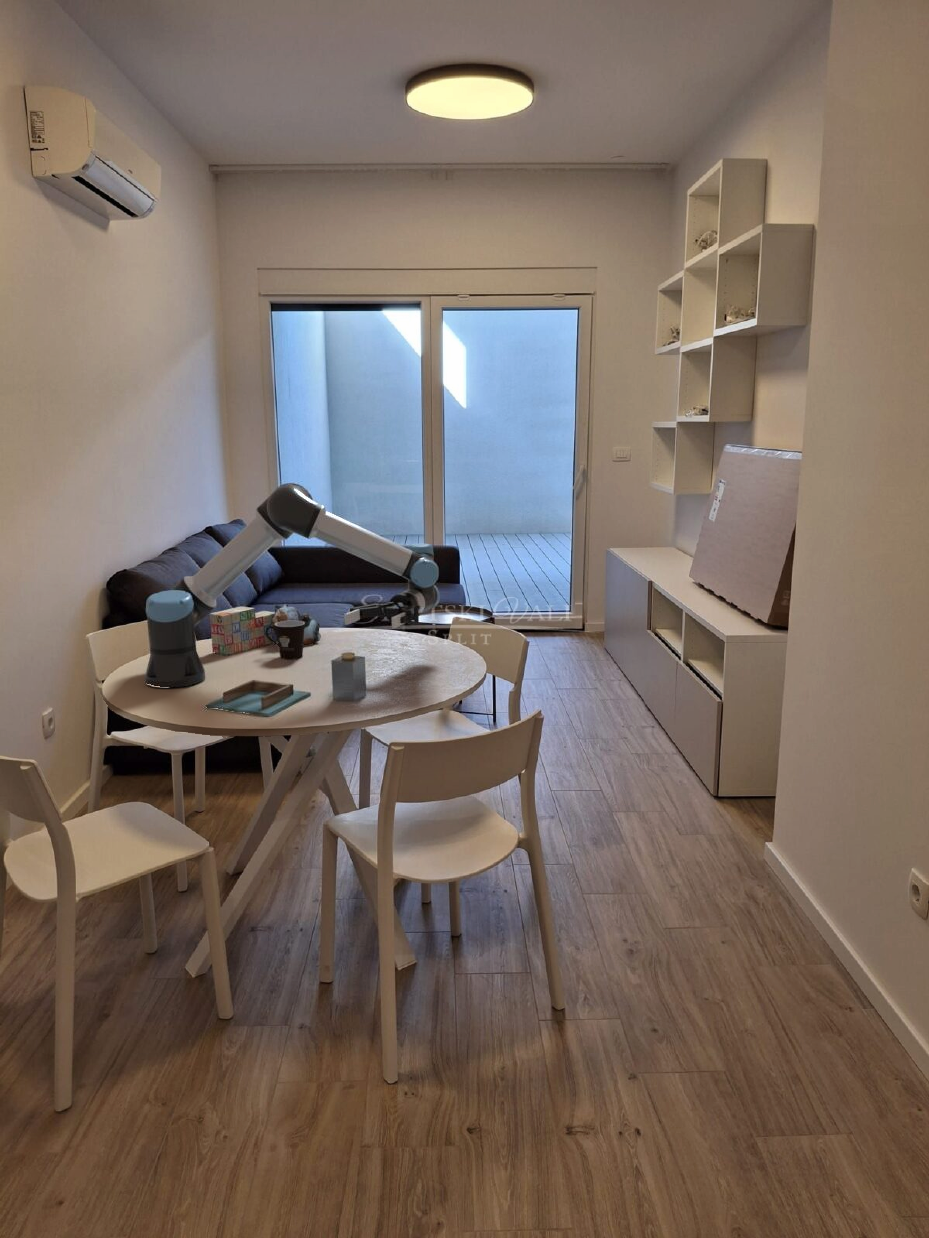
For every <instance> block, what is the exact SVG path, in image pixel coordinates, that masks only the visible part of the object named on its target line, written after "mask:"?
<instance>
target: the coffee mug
mask: <svg viewBox="0 0 929 1238" xmlns="http://www.w3.org/2000/svg"><path fill="white" fill-rule="evenodd" d="M304 626H305V622H303V621H295V620H291V621H281V622H277V623H275V627H273V626H271V627H268V628H267V629H266V636H267V637H268V638H269V639H270V641H272V642H273V643H272V644H274V645H275V646H277V647H278V652H279V657H280V659H281V660H287V661H288V660H289V661H292V660H297V659H298V660H299V659H301V658H303V656H304V653H303V652H304V644H303V641H304ZM270 628H272V629H274V630H275V631H276V635H277V642H275V641H274V640H272V639H271V638H270V637H269V635H268V630H269V629H270Z"/></svg>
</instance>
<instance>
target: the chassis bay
mask: <svg viewBox="0 0 929 1238" xmlns="http://www.w3.org/2000/svg"><path fill="white" fill-rule="evenodd" d="M311 693H312V692H311V691H302V690H295V689H294V684H291V683H290V684H289V683H282V682H277V681H276V682H273V681H267V680H266V681H265V680H258V679H252V680H249V681H248V682H245V683H243V684H240V685H238V686H236V687H234V688H231V689H229V690H226V691H224V692H223V693H222V695H223V696H222V697H221V698H217V699H216V700H214V701H211V702H209V703H207V704H205V708H206V707H207V708H206V709H209V708H218V709H223V710H228V711H227V712H230V711H234V712H233V713H237V712H242V713H241V714H244V713H243V712H245V713H249V714H248V715H252V714H254V715H253V716H259V715H262V716H261V717H266V716H267V717H266V718H269V717H271V716H273V715H275V714H277V713H279V712H281V711H283V710H285V709H287V708H289V707H291V706H292V705H295V704H296V703H298V702H300V701H302V700H304V699H306V698H308V697H311ZM223 710H222V711H223Z"/></svg>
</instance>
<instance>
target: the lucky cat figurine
mask: <svg viewBox="0 0 929 1238" xmlns="http://www.w3.org/2000/svg"><path fill="white" fill-rule="evenodd" d="M274 608H275V609H274V612H275V616H274V618H273V622H274V627H275V623H277V622H281V621H291V620H295V621H303V622H305V626H304V641H303V646H312V645H315V644H316V643H318V642H319V641H320V640H321V638H322V636H321V635H322V634H321V633H320V622H317V621H316V619H314V618H313V617H311V616H310V614H308V613H307V612H306V613H304V614H300V612H299V610H298V608H297V607H295V606H289V605H288V604H286V603H284V604H283V606H280V605H275V606H274Z"/></svg>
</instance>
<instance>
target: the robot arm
mask: <svg viewBox="0 0 929 1238" xmlns="http://www.w3.org/2000/svg"><path fill="white" fill-rule="evenodd" d="M293 534H295V535H299V536H301V537H303V538H306V539H308V540H310V539H313V538H315V539H317V540H320V541H321V542H324V543H326V544H329V545H331V546H333V547H335V548H338V549H340V550H342V551H345V552H346V553H349V554H351V555H353V556H356V557H358V558H360V559H363V560H364V561H365V562H366V561H367V562H368V563H371V564H373V565H376V566H378V567H380V568H382V569H384V570H387V571H389V572H391V573H393V574H396V575H398V576H399V577H400V576H401V577H402V578H404V579H406V580H407V590H404V591H402V592H399V593H397V594H395V595H393V596H392V597H391V598H390V600H389V601H388V602H386V603H381V604H380V602H376V603H372V604H366V605H361V606H354V607H350V608H349V612H347V613H344V614H343V615H344V626H346V625H347V626H348V625H350V624H352V623H355V622H358V621H360V620H361V619H364V618H366V619H367V618H372V617H375V618H376V617H379V618H388V617H389V618H391V629H396V628H398V627H401V626H403V625H405V624H406V623H408V624H410V623H412V622H414V623H416V624H417V623H419V622H420V621H419V620H420V616H421V614H423V613H425V612H429V611H430V610H432V609H434V608H435V607H436V606H437V605H438V604H439V602H440V598H441V593H440V591H439V588H438V587H437V586H436V585H435V583H436V582H437V581H438V579H439V576H440V575H439V573H440V572H439V570H440V569H439V566H438V564H437V563H436V562H435V561H434V559H435V558H434V556H435V554H434V547H433V545H432V544H430V543H413V544H409V545H408V546H407V547H405V546H403V545H401V544H398V543H396V542H394V541H392V540H390V539H387V538H385V537H384V536H381V535H378V534H377V533H374V532H372V531H370V530H368V529H365V528H363V527H362V526H359V525H357V524H354V522H350V521H348V520H346V519H344V518H342V517H340V516H337V515H335V514H333V513H331V512H330V511H327V510H326V507H325V505H324V504H321V503H319V502H317V501H315V500H313V497H312V495H311V493H310V492H309V490H308V489H306V488H305V487H304V486H303V485H301V484H299V483H295V482H287V483H284V484H281V485H279V486H278V487H276V489H275V490H274V491H273V492H272V493H271V494H270V495H269V496H268V497H267V498H266V499H265V500H264V501H263V502H262V503H261V504H260V505H258V506H257V507H256V509H255V516H254V518H253V519H252V520H251V521H250V522H249V523H248V524H247V525H245V527H244V528H243V529H241V530H240V532H238V533H237V534H236V535H235V536H234V537H233V538H232V539H231V540H230V541H229V542H228V543H227V544H226V545H224V547H223V548H221V549H220V550H219V552H218V553H216V554H215V555H214V556H213V557H212V558H211V559H210V560H209V561H208V562H207V563H206V564H204V565H203V566H202V567H201V569H200V570H199V571H198V572H196V573H195V574H194V575H192V576H190V575H189V576H187V575H185V576H184V577H183V578H181V580H180V581H179V582H178V583H177V584H176V585H174V586H173V587H172V588H171V589H170V590H162V591H159V592H156V593H153V594H151V595H149V597H148V598H146V602H145V604H146V605H145V606H146V607H145V614H146V620H147V630H148V631H147V632H148V644H149V659H148V663H147V667H146V670H145V677H144V678H145V684H146V683H147V684H151V685H154V686H160V687H180V688H183V687H182V686H186V687H189V686H188V685H191V686H193V685H192V684H195V685H198V684H200V683H202V682H203V681H205V680H206V670H205V668H204V665H203V663H202V660H201V658H200V655H199V654H198V653H199V652H198V651H197V642H196V641H197V640H196V630H195V629H196V626H197V625H198V624H199V623H200V622H201V621H202V620H203V619H204V618H205V617H207V615H208V614H210V613H211V612H212V611H213V609H215V608H216V607H217V598H219V597H220V596H221V595H222V594H223V592H224V591H226V590H227V589H228V587H230V586H231V585H232V584H234V582H235V581H236V580H237V579H238V578H240V576H241V575H243V573H245V572H246V571H247V570H248V569H249V568H250V567H251V566H252V565H253V564H254V563H255V562H256V561H257V560H258V559H260V558H261V557H262V556H263V555H264V554H265V553H266V552H267V551H268V550H269V549H270V548H271V547H273V546H274V545H275V543H277V541H286V540H288V539H289V538H290V537H291V536H292V535H293ZM204 679H205V680H204ZM201 681H202V682H201ZM199 682H200V683H199ZM197 683H198V684H197Z"/></svg>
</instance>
